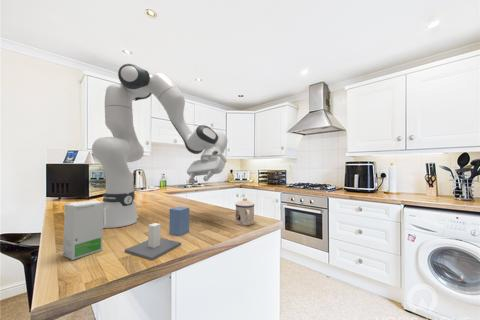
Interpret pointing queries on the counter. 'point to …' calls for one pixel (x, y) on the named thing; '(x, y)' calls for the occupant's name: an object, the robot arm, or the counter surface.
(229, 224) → the counter surface
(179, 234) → the blue block
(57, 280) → the counter surface
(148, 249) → the post
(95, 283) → the counter surface
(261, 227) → the counter surface
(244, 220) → the teacup with lid
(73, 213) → the skincare box
